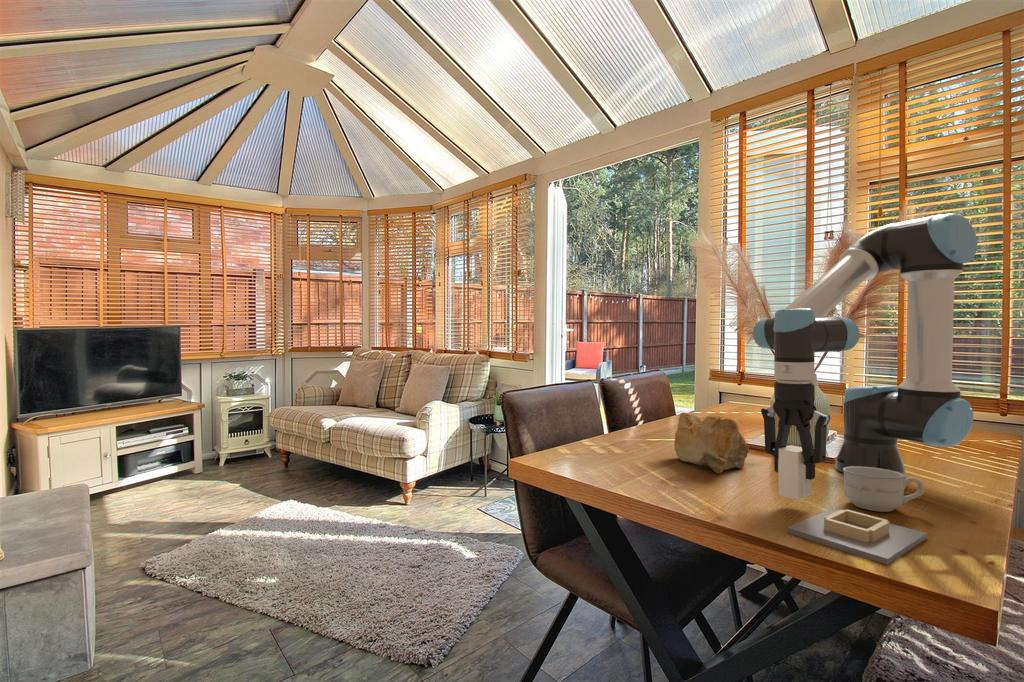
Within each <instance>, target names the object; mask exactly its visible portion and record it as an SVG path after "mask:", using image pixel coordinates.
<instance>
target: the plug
mask: <svg viewBox="0 0 1024 682" xmlns="http://www.w3.org/2000/svg"><path fill="white" fill-rule="evenodd" d="M803 462H805V461H804V456H803V451H802V447H801V446H796V445H786V447H783V448H780V449H779V489H778V496H780V497H784V498H788V499H792V500H796V501H800V500H802V499H805V498H808V497H809V496H810V495H811V493H809V494H807V495H805V496H804V495H801V463H803Z"/></svg>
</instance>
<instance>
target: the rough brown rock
mask: <svg viewBox="0 0 1024 682" xmlns="http://www.w3.org/2000/svg"><path fill="white" fill-rule="evenodd" d="M674 433H675V436H674V450H675V455H676V457H677V458H678V459H679V460H680V461H682V462H683V463H691V464H695V465H697V466H706V467H709V468H711V469H712V471H713V472H714V473H716V474H722V473H723V472H724V471H726V470H730V469H733V468H734V469H743V468H744V466H745V461H746V459H747V457H748V454H749V450H750V447H749V445H748V443H747V442H746V440H745V438H744V436H743V435H742V434H741V433H740V431H739V424H738V422H737V421H735V420H734V419H732V418H728V417H727V418H726V417H725V418H721V417H719V416H714V415H713V416H712V415H710V416H708V415H707V416H706V417H704V419H703V420H701V418H700V417H699V416H697V415H695V414H693V413H690V412H680V413H679V417H678V423H677V430H676V431H675V432H674Z"/></svg>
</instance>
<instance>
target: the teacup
mask: <svg viewBox="0 0 1024 682" xmlns="http://www.w3.org/2000/svg"><path fill="white" fill-rule="evenodd" d="M843 471H844V473H843V489H844V490H843V491H844V495H845V497H846V498H847V499H848V501H850V502H851V503H852V504H853V505H854V506H855V507H857V508H859V509H862V510H863V509H864V510H866V511H873V512H880V513H886V512H887V513H889V512H892V511H894V510H895V509H897V508H899V507H900V506H901V505H905V504H907V503H908V501H912V500H915V499H917V498H919V497H920V496H922V495H923V494H924V492H925V484H924V483H923V481H922V480H921V479H919V478H918V477H915V476H909V477H908V476H907V477H905V478H904V475H903V474H901V473H899V472H895V471H891V470H886V469H880V468H872V467H855V466H853V467H845V468H843ZM909 483H916V484H917V486H918V490H916V491H915V492H914V493H913V492H912V493H911V494H908V495H904V493H905V491H904V490H905V489H906V488H907V486H908V484H909Z"/></svg>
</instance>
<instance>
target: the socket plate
mask: <svg viewBox="0 0 1024 682" xmlns="http://www.w3.org/2000/svg"><path fill="white" fill-rule="evenodd" d="M786 528H787V532H786V533H787V534H790V535H794V536H797V537H799V538H802V539H806V540H809V541H811V542H814V543H817V544H821V545H824V546H826V547H827V546H828V547H830V548H834V549H836V550H837V549H838V550H840V551H843V552H845V553H850V554H852V555H856V556H859V557H861V558H864V559H868V560H871V561H874V562H876V563H880V564H884V565H886V566H888V565H890V563H893V562H894V561H895V560H897V559H898V558H900V557H901V556H903V555H905V554H906V553H909V551H911V550H912V549H914V548H915V547H917V546H919V545H920V544H921V543H923V542H924V541H926V540H927V539H928V533H927V532H924V531H920V530H917V529H912V528H909V527H905V526H901V525H898V524H894V523H890V521H889V520H888V519H885V518H882V517H878V516H874V515H869V514H866V513H862V512H858V511H855V510H850V509H838V508H832V507H831V508H829V509H827V510H824V511H823V512H820V513H817V514H815V515H813V516H811V517H808V518H807V519H806V518H805V519H804V520H801V521H798V522H797V523H795V524H793V525H790V526H788V527H786Z"/></svg>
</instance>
